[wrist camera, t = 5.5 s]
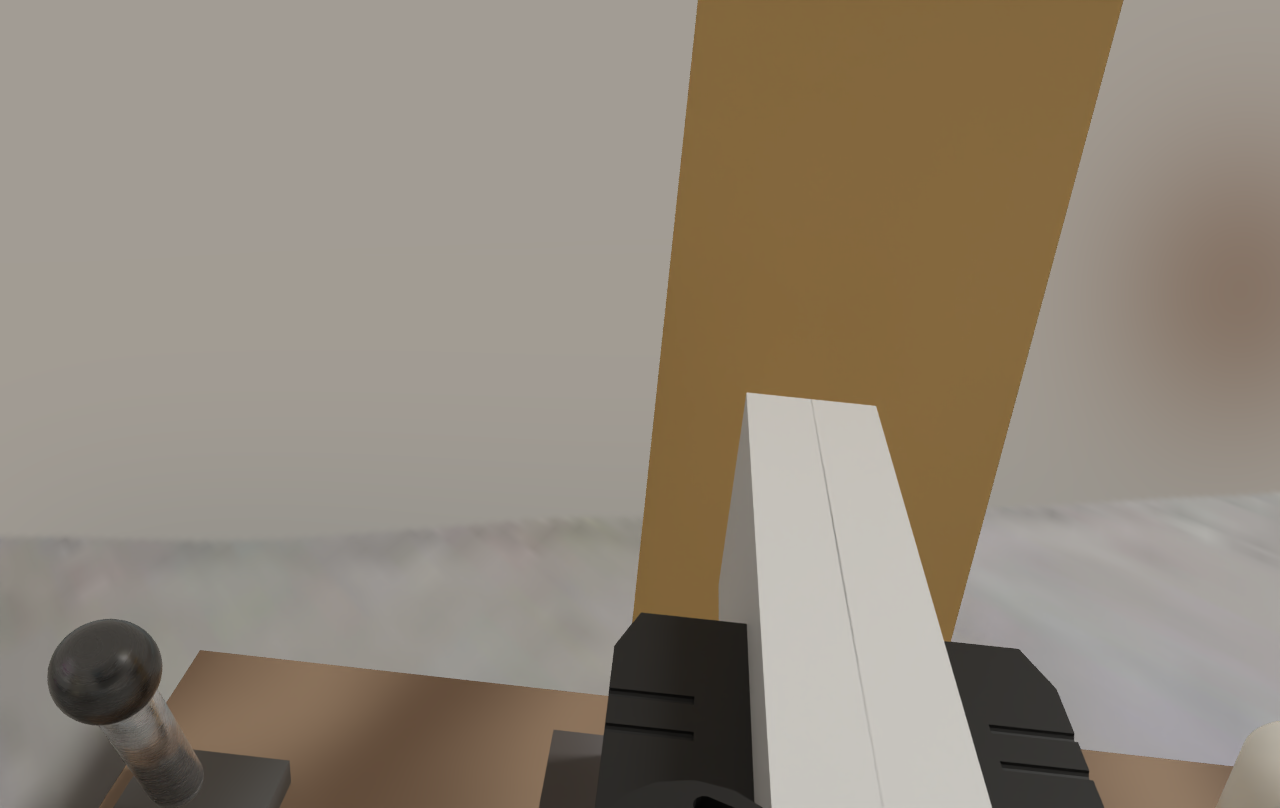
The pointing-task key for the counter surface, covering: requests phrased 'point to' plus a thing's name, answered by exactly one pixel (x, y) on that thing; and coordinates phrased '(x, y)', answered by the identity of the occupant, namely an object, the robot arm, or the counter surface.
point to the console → (456, 744)
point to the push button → (1255, 772)
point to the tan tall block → (863, 251)
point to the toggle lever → (126, 705)
